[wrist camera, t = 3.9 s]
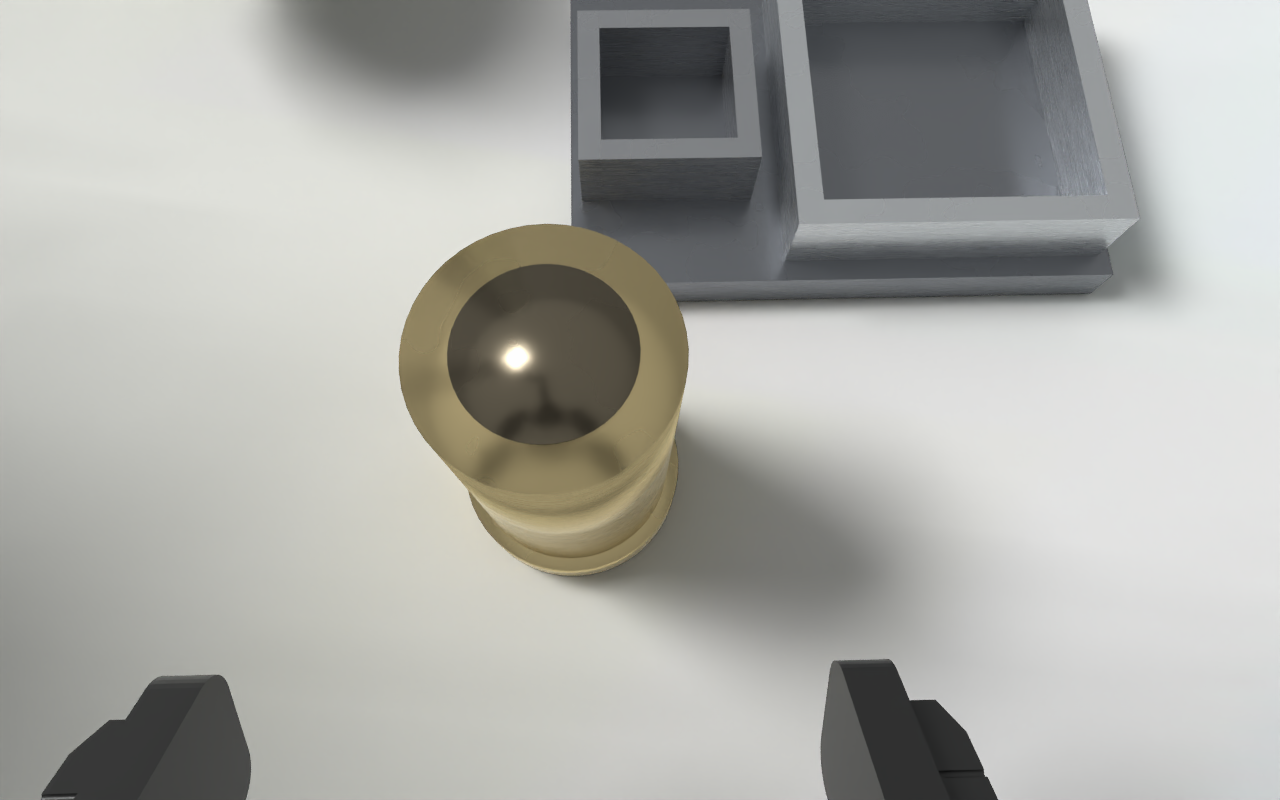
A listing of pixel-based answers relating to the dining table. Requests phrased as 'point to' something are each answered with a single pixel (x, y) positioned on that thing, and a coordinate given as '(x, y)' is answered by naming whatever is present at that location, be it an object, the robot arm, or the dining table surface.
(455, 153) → the dining table surface
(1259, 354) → the dining table surface
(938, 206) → the plate
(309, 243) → the dining table surface
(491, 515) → the brass fitting
